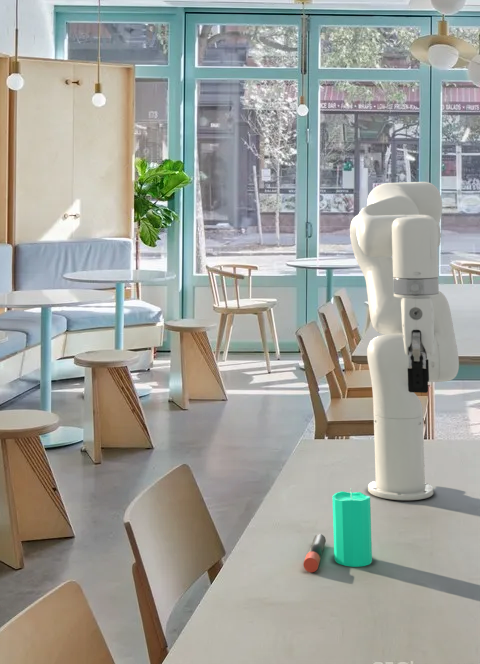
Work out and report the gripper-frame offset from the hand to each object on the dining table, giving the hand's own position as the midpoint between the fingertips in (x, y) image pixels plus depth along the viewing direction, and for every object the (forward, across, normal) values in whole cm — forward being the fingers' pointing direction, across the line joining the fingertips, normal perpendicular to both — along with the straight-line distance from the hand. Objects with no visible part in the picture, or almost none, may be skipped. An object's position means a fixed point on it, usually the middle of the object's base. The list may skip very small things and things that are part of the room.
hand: (418, 386), depth 177 cm
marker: (+26, -14, +17) cm, 34 cm away
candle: (+26, -14, +11) cm, 32 cm away
